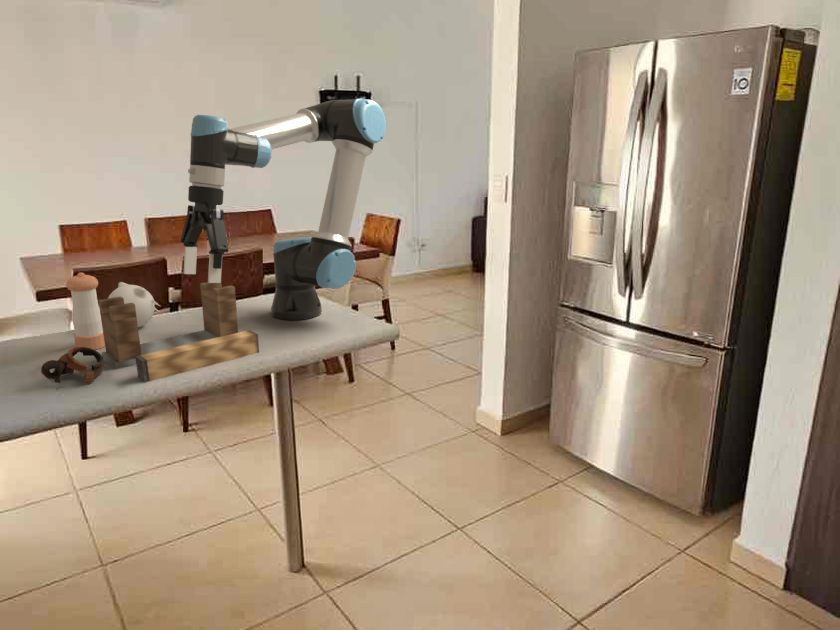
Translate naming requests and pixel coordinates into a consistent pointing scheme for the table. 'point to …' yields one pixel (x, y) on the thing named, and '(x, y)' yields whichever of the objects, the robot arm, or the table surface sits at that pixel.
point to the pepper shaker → (86, 312)
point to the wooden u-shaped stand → (126, 342)
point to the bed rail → (196, 355)
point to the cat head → (137, 301)
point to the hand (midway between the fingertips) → (201, 278)
